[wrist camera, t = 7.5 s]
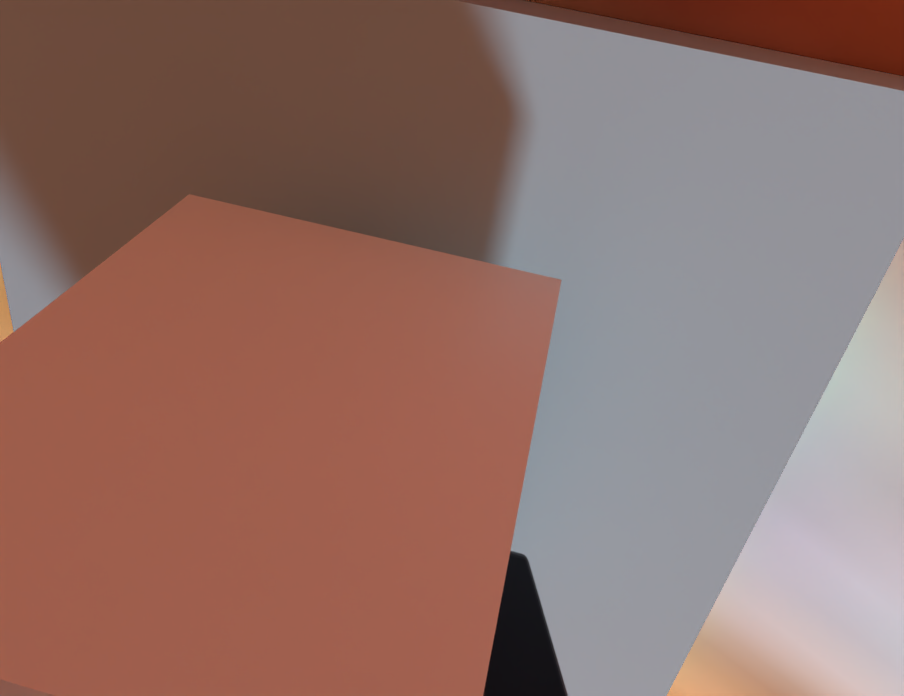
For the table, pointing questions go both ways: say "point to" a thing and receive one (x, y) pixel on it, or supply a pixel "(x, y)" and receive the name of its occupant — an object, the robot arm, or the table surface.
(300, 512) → the block
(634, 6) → the table surface
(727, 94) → the mat
